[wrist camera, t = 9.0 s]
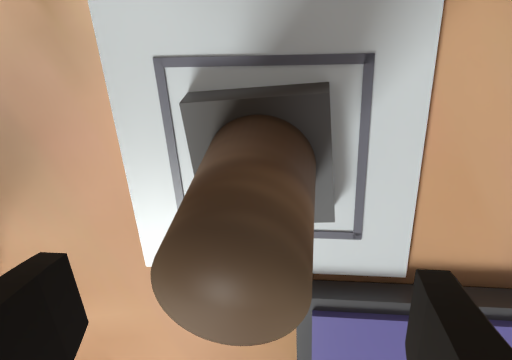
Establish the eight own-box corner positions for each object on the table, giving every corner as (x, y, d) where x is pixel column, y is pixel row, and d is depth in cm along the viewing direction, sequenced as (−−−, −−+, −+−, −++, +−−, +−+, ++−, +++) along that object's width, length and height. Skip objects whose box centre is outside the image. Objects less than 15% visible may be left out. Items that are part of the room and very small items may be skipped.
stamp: (329, 81, 14) (333, 195, 8) (334, 205, 16) (340, 363, 10) (187, 92, 15) (102, 203, 9) (210, 209, 17) (153, 358, 11)
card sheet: (444, -15, 12) (446, -14, 12) (404, 273, 17) (405, 278, 17) (90, -1, 14) (86, 0, 13) (147, 263, 19) (145, 267, 18)
